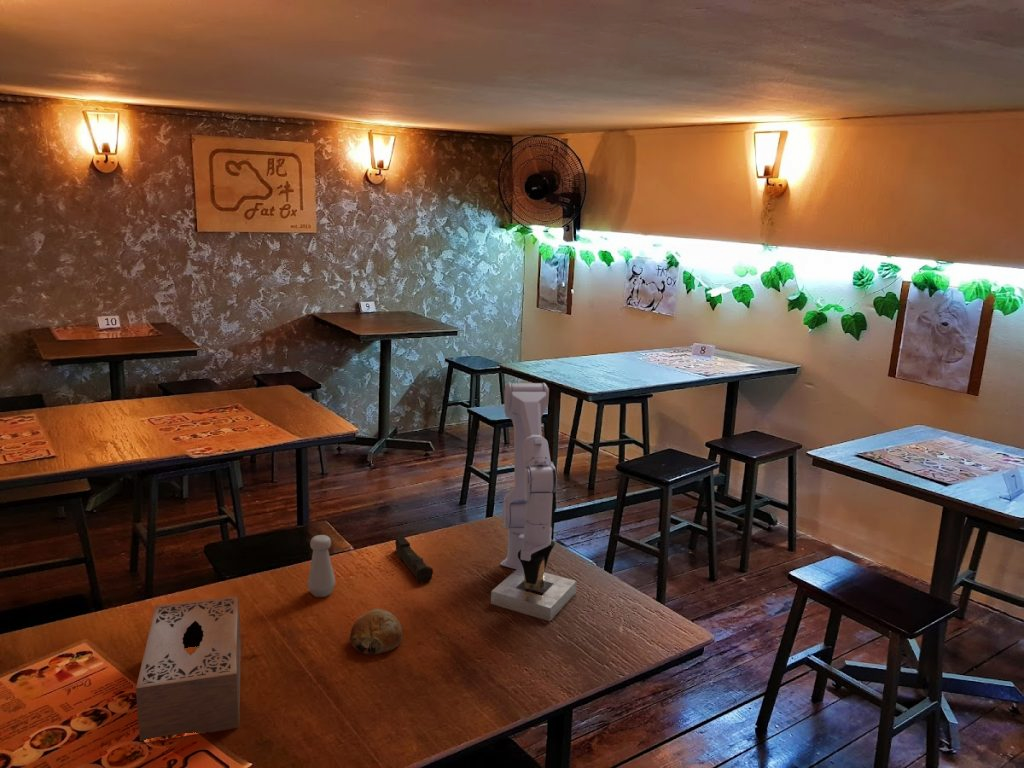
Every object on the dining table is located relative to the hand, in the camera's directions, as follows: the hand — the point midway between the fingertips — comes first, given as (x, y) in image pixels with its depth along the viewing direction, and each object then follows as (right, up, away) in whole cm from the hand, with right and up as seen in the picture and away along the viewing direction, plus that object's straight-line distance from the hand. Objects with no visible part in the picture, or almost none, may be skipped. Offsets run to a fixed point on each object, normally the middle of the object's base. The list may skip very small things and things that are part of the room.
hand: (535, 577), depth 165 cm
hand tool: (-30, -1, +14) cm, 33 cm away
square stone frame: (0, -5, +1) cm, 5 cm away
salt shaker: (-47, -3, 0) cm, 47 cm away
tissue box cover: (-60, -11, -34) cm, 70 cm away
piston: (0, -2, 0) cm, 2 cm away
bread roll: (-32, -8, -18) cm, 37 cm away
